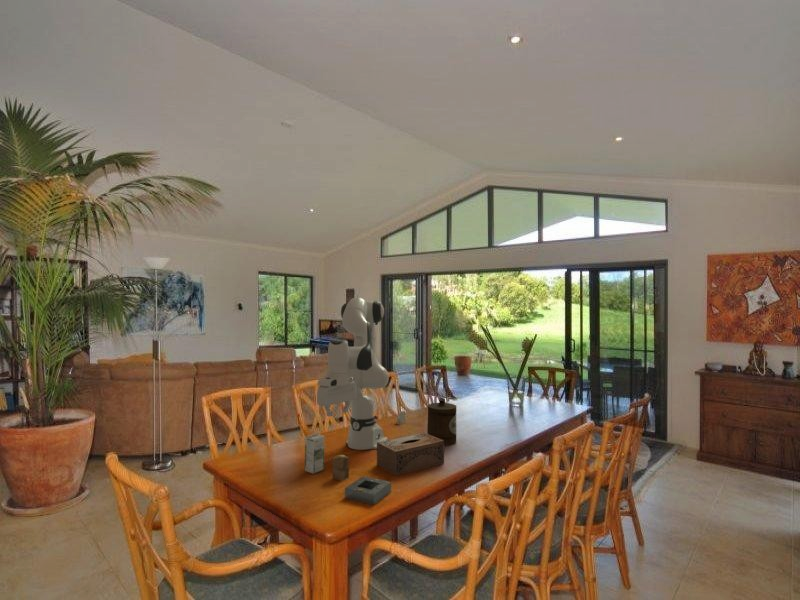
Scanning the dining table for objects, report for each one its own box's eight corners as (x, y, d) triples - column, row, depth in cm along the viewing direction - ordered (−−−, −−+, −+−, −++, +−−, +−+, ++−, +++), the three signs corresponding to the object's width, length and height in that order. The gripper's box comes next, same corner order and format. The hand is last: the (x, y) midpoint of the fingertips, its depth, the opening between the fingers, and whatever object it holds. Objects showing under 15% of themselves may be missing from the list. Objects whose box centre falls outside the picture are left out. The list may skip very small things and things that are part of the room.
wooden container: (458, 445, 212) (458, 401, 213) (428, 445, 212) (428, 401, 213) (454, 436, 227) (454, 395, 227) (426, 436, 227) (426, 395, 227)
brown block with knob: (339, 474, 175) (339, 453, 175) (348, 476, 173) (348, 455, 173) (332, 478, 171) (332, 457, 171) (342, 480, 169) (342, 459, 169)
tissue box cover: (424, 454, 201) (424, 432, 201) (444, 463, 189) (444, 440, 189) (376, 465, 186) (376, 442, 187) (395, 476, 174) (395, 451, 175)
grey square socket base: (363, 485, 165) (363, 475, 165) (391, 491, 159) (391, 481, 159) (344, 497, 154) (344, 487, 154) (373, 504, 148) (374, 494, 149)
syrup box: (315, 467, 184) (315, 432, 184) (324, 470, 180) (324, 435, 180) (304, 470, 179) (304, 436, 179) (313, 474, 175) (313, 438, 176)
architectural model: (394, 424, 252) (394, 411, 252) (401, 422, 258) (401, 409, 258) (399, 425, 250) (399, 412, 250) (406, 422, 256) (406, 410, 256)
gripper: (349, 376, 185) (348, 408, 184) (314, 381, 168) (313, 417, 167) (360, 377, 181) (360, 410, 181) (326, 383, 164) (325, 419, 164)
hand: (337, 413), depth 174 cm, fingers open, 8 cm apart
